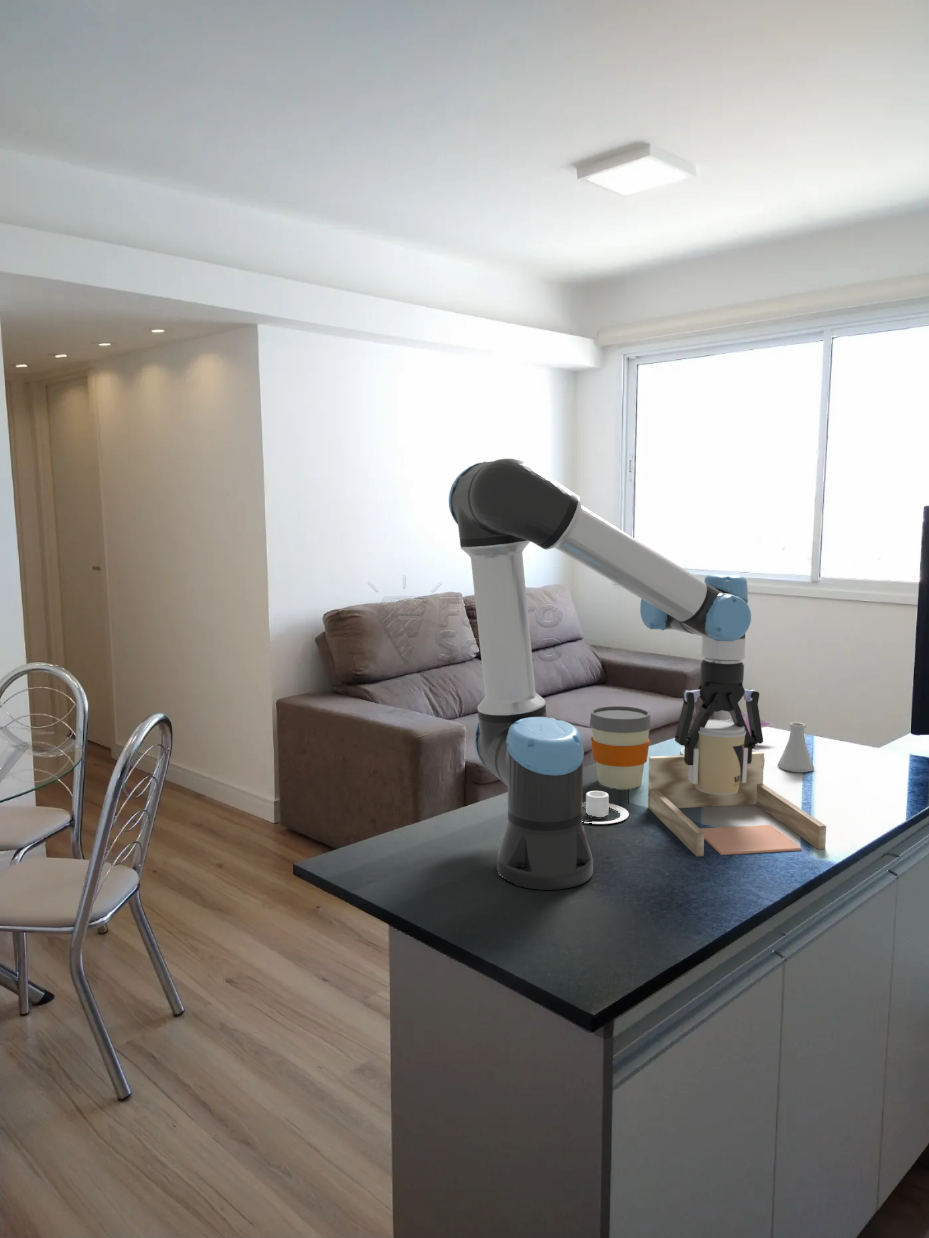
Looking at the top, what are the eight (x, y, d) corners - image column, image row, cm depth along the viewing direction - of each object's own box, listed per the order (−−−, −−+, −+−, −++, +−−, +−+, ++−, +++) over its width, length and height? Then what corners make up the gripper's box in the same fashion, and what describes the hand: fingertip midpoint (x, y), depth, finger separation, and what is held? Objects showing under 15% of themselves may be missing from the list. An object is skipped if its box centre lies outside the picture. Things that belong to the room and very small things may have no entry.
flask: (771, 765, 193) (772, 721, 192) (798, 762, 196) (800, 719, 194) (792, 774, 187) (794, 729, 185) (820, 771, 189) (822, 726, 188)
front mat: (721, 854, 143) (721, 852, 143) (695, 831, 154) (695, 828, 154) (801, 850, 145) (801, 847, 145) (770, 826, 156) (770, 824, 156)
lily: (779, 749, 210) (773, 711, 214) (762, 740, 202) (755, 700, 205) (731, 757, 217) (726, 720, 221) (712, 748, 208) (707, 710, 212)
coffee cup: (745, 798, 155) (749, 732, 154) (691, 794, 157) (694, 729, 156) (740, 783, 164) (743, 720, 163) (689, 779, 166) (691, 717, 165)
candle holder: (575, 830, 156) (575, 806, 156) (556, 808, 168) (556, 786, 168) (638, 824, 159) (639, 801, 158) (615, 803, 170) (615, 782, 170)
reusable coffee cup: (660, 789, 177) (661, 717, 176) (601, 794, 175) (602, 721, 173) (636, 771, 190) (637, 704, 188) (581, 775, 187) (581, 707, 185)
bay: (696, 856, 143) (697, 797, 142) (648, 807, 167) (648, 756, 166) (825, 848, 146) (827, 790, 144) (759, 801, 169) (761, 751, 168)
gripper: (768, 656, 163) (762, 773, 166) (658, 657, 160) (654, 776, 163) (788, 662, 156) (781, 785, 158) (673, 663, 153) (668, 789, 156)
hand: (716, 781), depth 161 cm, fingers closed on coffee cup, 9 cm apart
